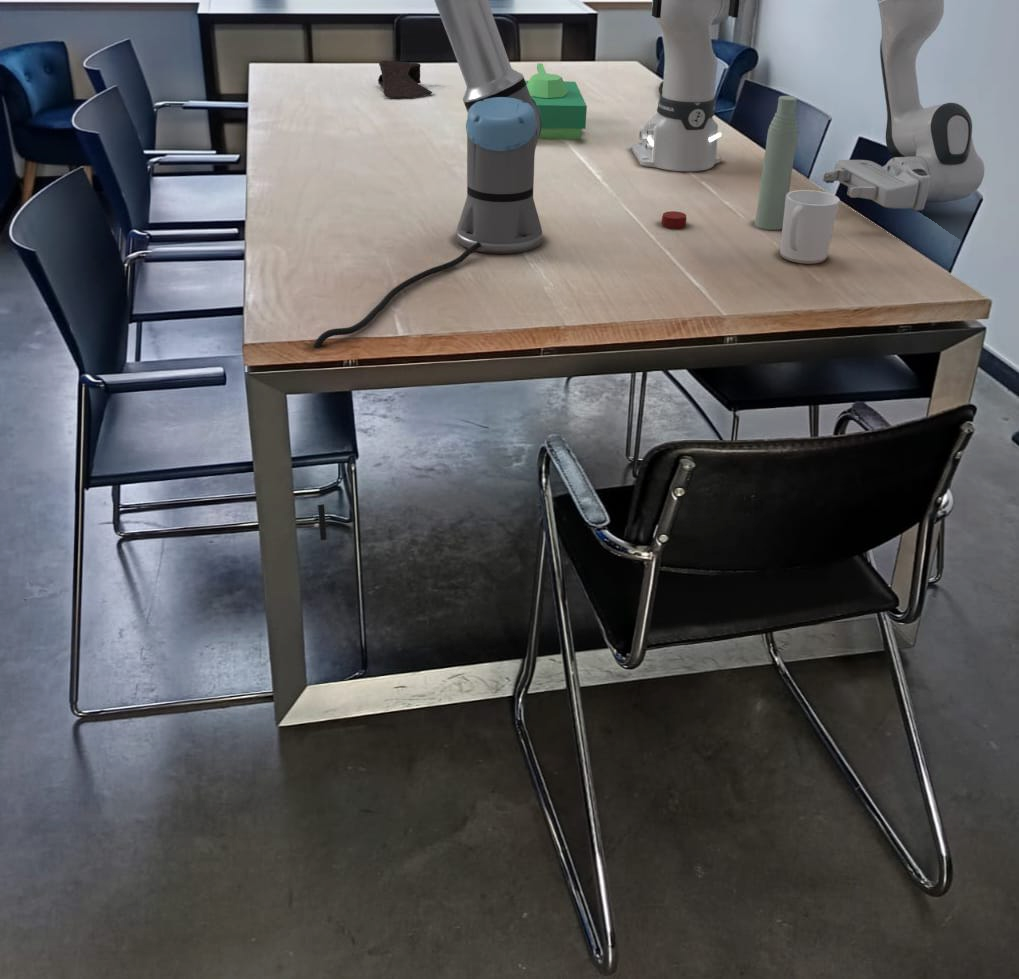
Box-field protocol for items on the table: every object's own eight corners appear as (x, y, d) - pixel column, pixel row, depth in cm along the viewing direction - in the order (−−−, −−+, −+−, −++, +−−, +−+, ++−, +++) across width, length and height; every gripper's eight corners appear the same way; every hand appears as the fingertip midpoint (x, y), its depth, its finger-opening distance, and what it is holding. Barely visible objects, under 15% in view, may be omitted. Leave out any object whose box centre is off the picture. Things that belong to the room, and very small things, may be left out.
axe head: (443, 87, 294) (392, 77, 287) (436, 115, 299) (385, 106, 292) (421, 62, 307) (371, 52, 300) (414, 89, 311) (365, 80, 304)
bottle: (762, 230, 204) (780, 101, 191) (750, 221, 208) (767, 94, 196) (788, 229, 205) (808, 100, 192) (776, 220, 209) (795, 94, 197)
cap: (690, 225, 205) (691, 215, 204) (674, 230, 203) (675, 220, 202) (672, 219, 208) (673, 209, 207) (656, 224, 205) (657, 214, 204)
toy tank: (573, 59, 279) (587, 89, 249) (570, 109, 285) (584, 143, 255) (503, 58, 278) (510, 87, 248) (502, 108, 284) (508, 142, 254)
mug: (791, 244, 197) (800, 186, 191) (837, 255, 192) (848, 197, 187) (762, 259, 190) (770, 200, 184) (809, 271, 185) (819, 211, 179)
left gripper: (639, -127, 170) (629, 20, 181) (791, -124, 174) (772, 19, 185) (627, -129, 177) (618, 13, 188) (774, -127, 180) (756, 12, 191)
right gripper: (876, 150, 216) (812, 153, 212) (935, 179, 199) (867, 182, 196) (870, 182, 219) (807, 185, 216) (927, 213, 202) (860, 217, 199)
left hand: (694, 16), depth 186 cm, fingers open, 13 cm apart
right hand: (836, 184), depth 206 cm, fingers open, 8 cm apart
